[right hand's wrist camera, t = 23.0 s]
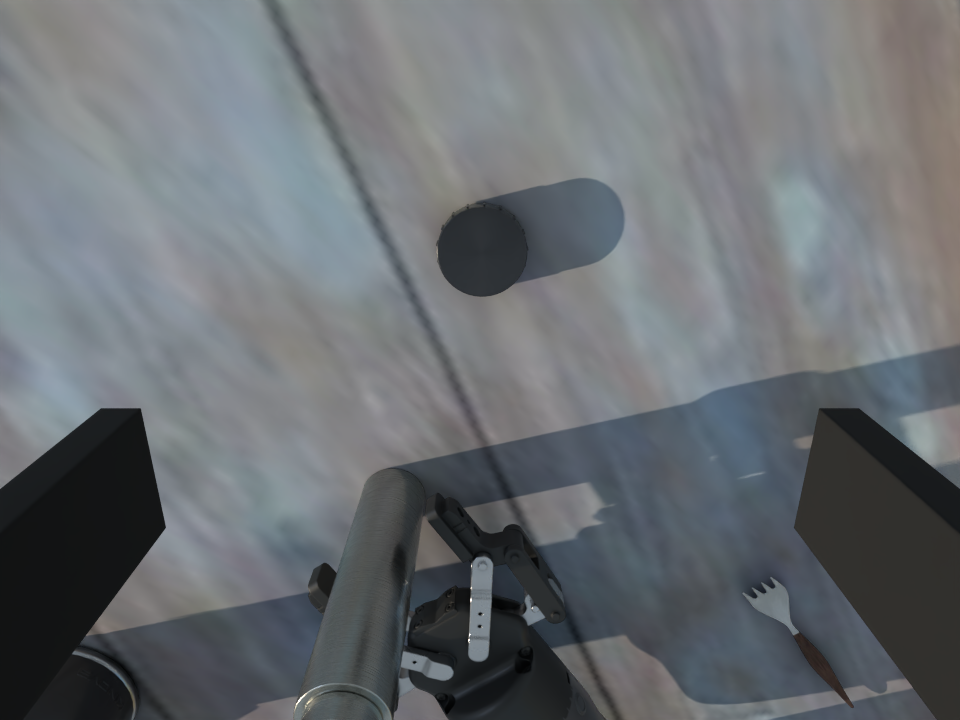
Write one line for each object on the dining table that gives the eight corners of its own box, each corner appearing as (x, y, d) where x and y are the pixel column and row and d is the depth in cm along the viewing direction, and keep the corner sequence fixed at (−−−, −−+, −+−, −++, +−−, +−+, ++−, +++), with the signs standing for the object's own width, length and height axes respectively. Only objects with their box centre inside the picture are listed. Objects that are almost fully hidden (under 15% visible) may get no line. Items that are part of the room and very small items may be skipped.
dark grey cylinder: (363, 520, 44) (287, 787, 27) (361, 467, 43) (279, 712, 25) (425, 522, 44) (389, 789, 27) (425, 468, 43) (386, 714, 25)
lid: (545, 241, 37) (547, 247, 36) (487, 307, 39) (487, 315, 37) (476, 182, 36) (476, 185, 35) (419, 252, 38) (417, 258, 36)
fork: (833, 709, 50) (847, 732, 48) (729, 575, 46) (740, 595, 44) (864, 694, 49) (879, 716, 48) (762, 557, 45) (774, 576, 43)
